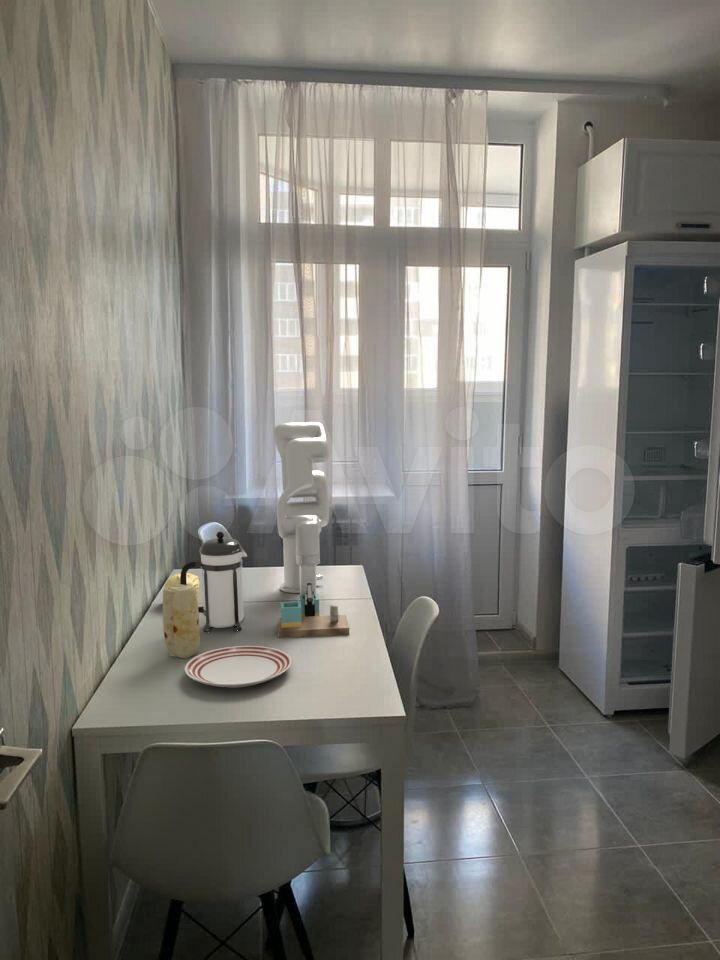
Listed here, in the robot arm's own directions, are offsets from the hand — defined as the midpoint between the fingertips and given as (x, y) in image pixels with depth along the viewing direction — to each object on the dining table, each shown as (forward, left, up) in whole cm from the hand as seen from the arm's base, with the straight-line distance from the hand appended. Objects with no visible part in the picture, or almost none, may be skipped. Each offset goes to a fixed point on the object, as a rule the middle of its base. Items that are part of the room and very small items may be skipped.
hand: (309, 612), depth 240 cm
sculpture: (+28, -37, -1) cm, 46 cm away
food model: (+46, +8, -1) cm, 47 cm away
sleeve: (0, 0, -1) cm, 1 cm away
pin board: (+6, +12, -1) cm, 13 cm away
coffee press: (+28, -7, -1) cm, 29 cm away
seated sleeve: (+12, +9, +1) cm, 15 cm away
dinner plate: (+39, +29, -1) cm, 49 cm away
